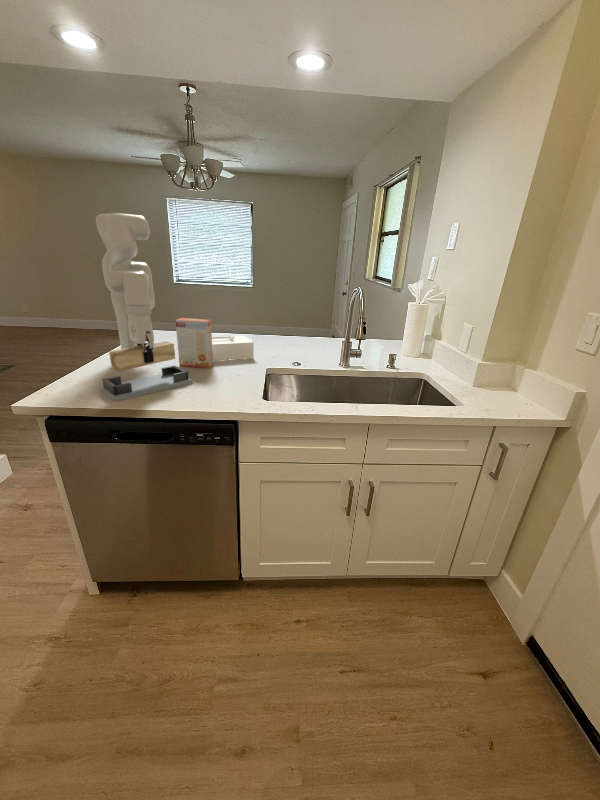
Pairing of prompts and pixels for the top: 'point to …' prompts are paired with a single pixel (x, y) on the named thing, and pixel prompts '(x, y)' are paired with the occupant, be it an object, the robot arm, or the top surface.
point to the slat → (140, 356)
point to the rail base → (145, 383)
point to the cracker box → (194, 342)
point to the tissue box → (231, 347)
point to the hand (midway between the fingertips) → (145, 360)
